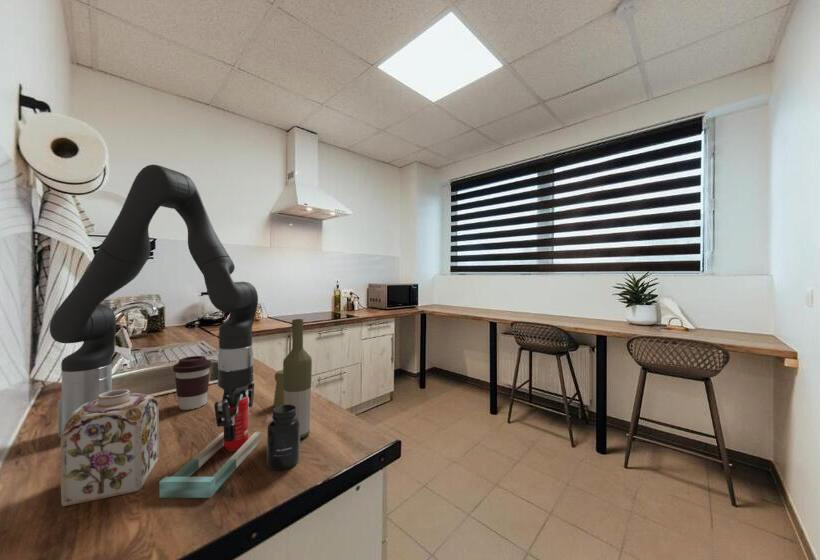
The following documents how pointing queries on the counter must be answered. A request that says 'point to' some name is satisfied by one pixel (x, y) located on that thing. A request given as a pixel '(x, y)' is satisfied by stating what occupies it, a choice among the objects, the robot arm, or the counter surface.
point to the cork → (279, 389)
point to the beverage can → (239, 426)
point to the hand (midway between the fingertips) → (236, 433)
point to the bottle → (298, 378)
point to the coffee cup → (192, 381)
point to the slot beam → (205, 486)
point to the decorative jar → (109, 446)
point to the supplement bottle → (283, 438)
